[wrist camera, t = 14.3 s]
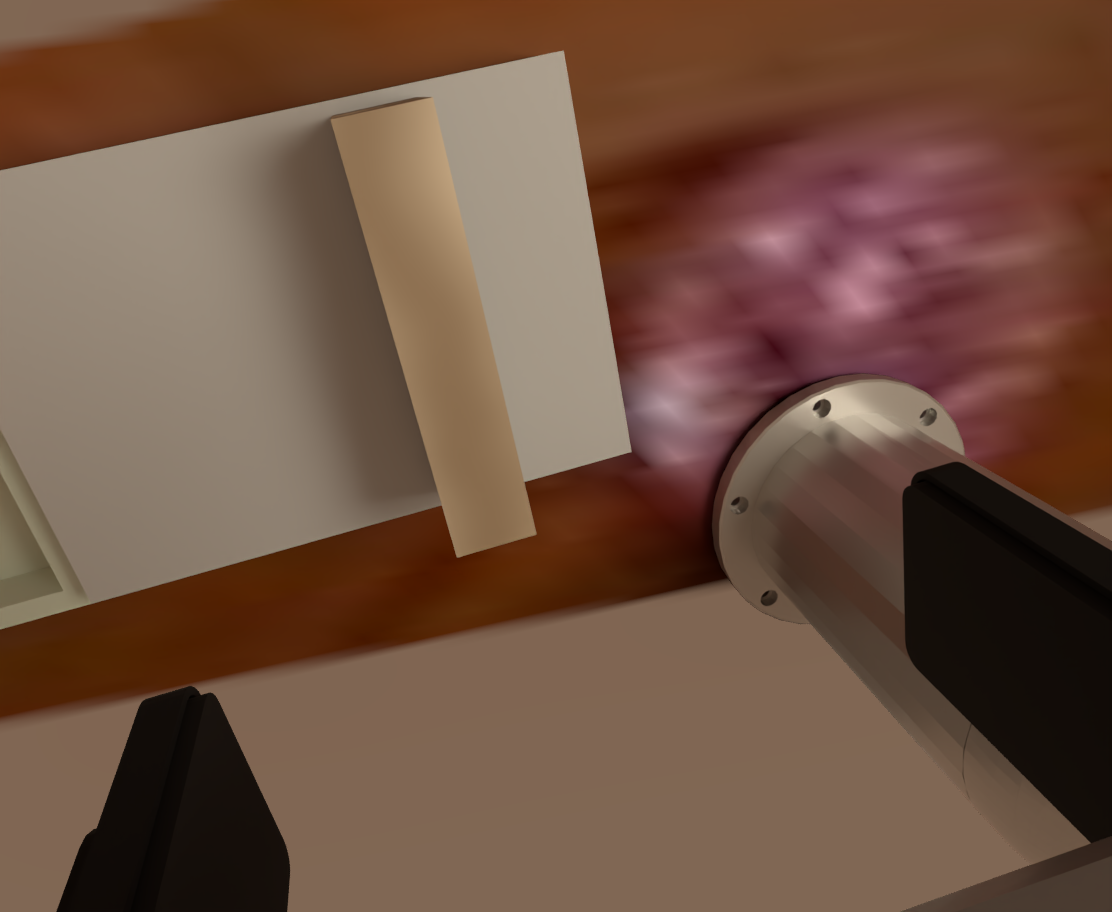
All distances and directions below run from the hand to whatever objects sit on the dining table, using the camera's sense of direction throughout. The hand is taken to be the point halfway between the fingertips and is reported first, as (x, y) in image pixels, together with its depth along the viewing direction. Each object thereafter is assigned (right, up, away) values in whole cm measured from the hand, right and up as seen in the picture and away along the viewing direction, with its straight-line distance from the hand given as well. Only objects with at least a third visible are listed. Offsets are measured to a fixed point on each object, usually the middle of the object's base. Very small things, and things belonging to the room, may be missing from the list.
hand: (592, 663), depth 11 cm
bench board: (-9, +8, +20) cm, 24 cm away
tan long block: (-5, +8, +17) cm, 19 cm away
